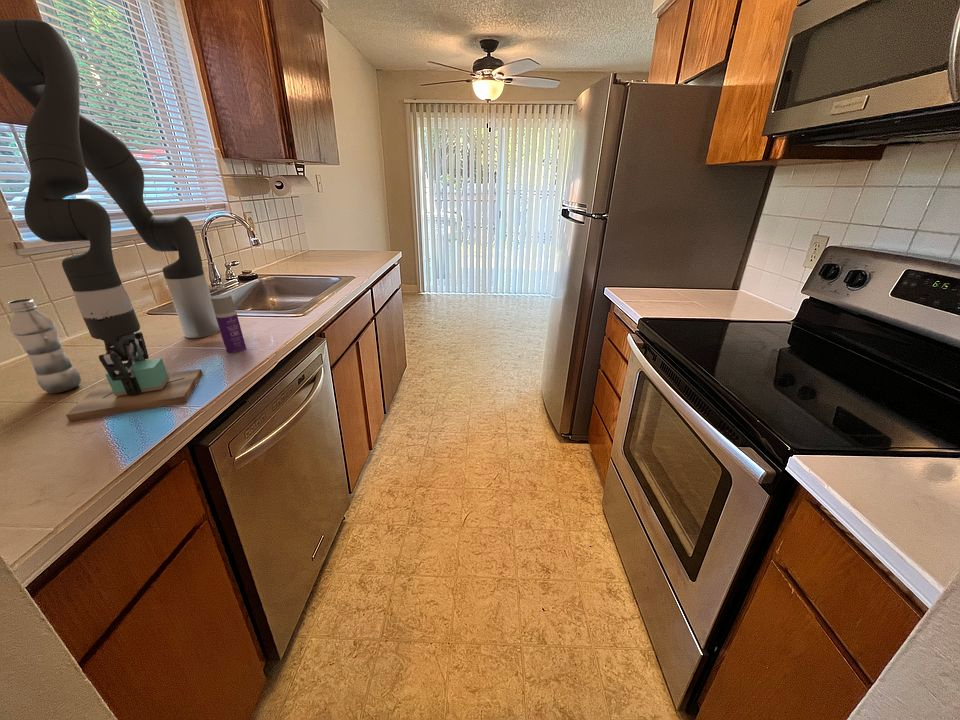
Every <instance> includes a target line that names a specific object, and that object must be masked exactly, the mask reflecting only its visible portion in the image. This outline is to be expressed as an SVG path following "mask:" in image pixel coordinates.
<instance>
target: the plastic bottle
mask: <svg viewBox="0 0 960 720" xmlns="http://www.w3.org/2000/svg"><path fill="white" fill-rule="evenodd" d="M7 306H8V308H9V311H10V313H13V316H12V318H11V321H10V323H9V331H10V332H11V334H12V335H13V337H14V338H15V339H16V341H17V342H18V343H19V344H20V346H21V347H22V348H23V350H24V352H25V354H27V357H28V358H29V359H30V362H31V363H30V364H31V365H32V367H33V368H32V369H33V370H34V373H35V379H36V381H37V383H38V386H39V387H40V388H41V389H42V391H45V392H47V393H48V394H56V393H62V392H66V391H69V390H72V389H74V388H77V387H78V386H79V385H80V384H81V381H82V379H81V375H80V372H79V371H78V370H77V368H76V367H75V366H74V365H73V364H72V362H71V360H70V359H69V358H68V356H67V354H66V352H65V350H64V348H63V346H62V343H61V340H60V338H59V333H58V329H57V326H56V323H55V321H54V320H52V318H51V317H50V316H47V315H46V314H44V313H42V312H41V311H39V310H37V309H38V305H36V303H35V301H34V299H33V298H21V299H14V300H11V301H8V302H7Z"/></svg>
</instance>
